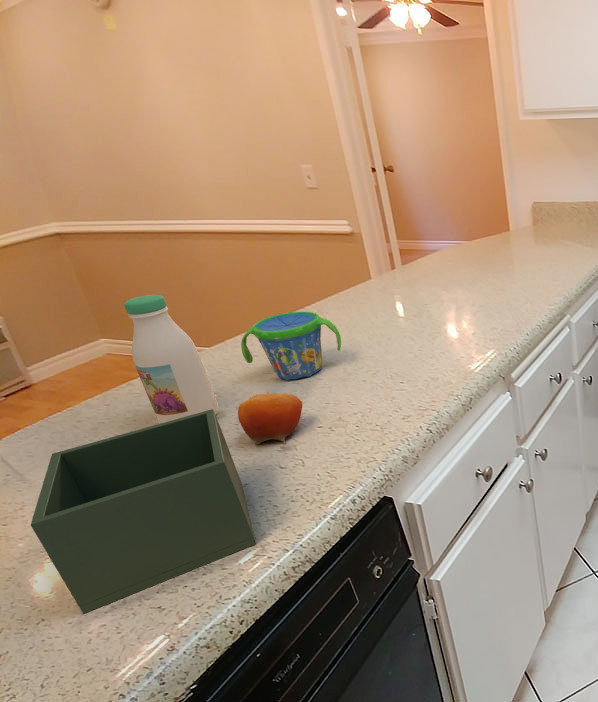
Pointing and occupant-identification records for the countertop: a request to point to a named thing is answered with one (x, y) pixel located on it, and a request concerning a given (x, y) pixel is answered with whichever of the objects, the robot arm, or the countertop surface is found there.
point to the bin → (141, 508)
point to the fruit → (270, 416)
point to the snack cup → (291, 343)
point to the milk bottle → (168, 362)
